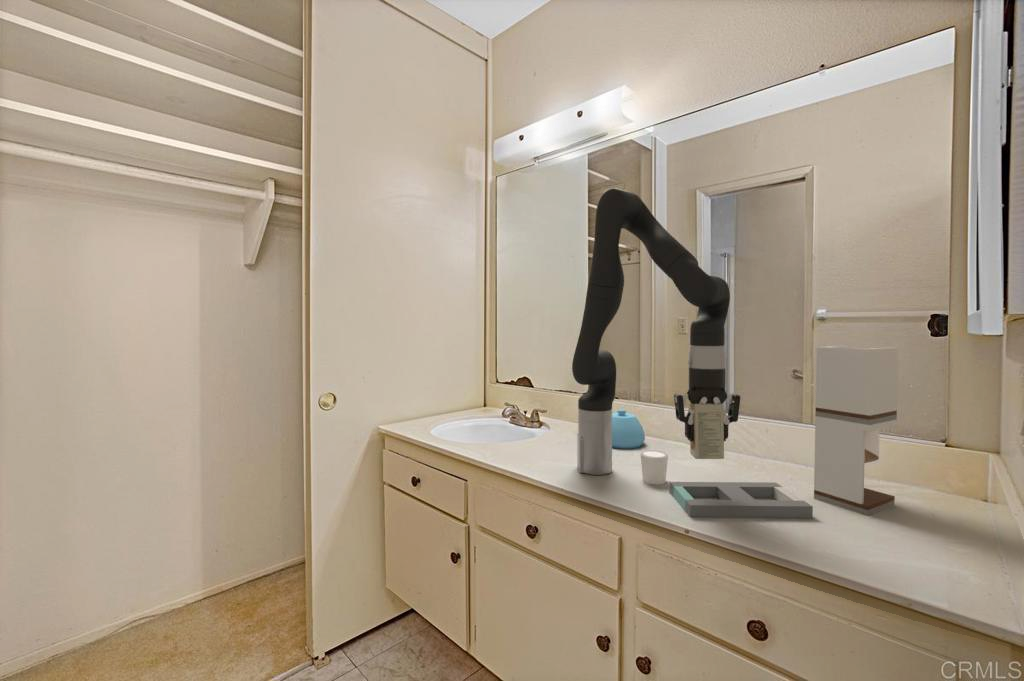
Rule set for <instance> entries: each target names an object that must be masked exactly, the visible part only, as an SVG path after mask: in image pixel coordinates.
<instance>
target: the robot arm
mask: <svg viewBox="0 0 1024 681" xmlns="http://www.w3.org/2000/svg"><path fill="white" fill-rule="evenodd" d="M622 229H624V230H626V231H627V232H629V233H631V234H632V235H633V236H635V237H637V239H638V240H640V241H641V243H642V244H643V245H644V247H645V249H646V250H647V253H648V255H649V257H650V258H651V259H652V261H653V262H654V264H656V266H657V267H658V268H659V269H660V270H661V271H662V272H663V273H664V274H665V275H666V276H667V277H668V278H670V279H671V280H672V282H673V284H674V286H675V287H676V288H677V290H678V291H679V293H680V294H681V296H682V297H683V298H684V299H685V300H686V301H687V302H688V303H690V305H693V306H694V307H697V308H698V310H697V314H696V315H697V317H696V318H695V319H694V320H692V321H691V324H690V329H689V333H690V335H689V352H688V363H687V364H688V389H687V390H688V391H687V392H686V393H680V394H679V393H674V395H673V398H674V399H673V400H674V409H675V411H674V412H675V419H677V420H678V421H679V422H682V423H684V436H685V438H686V439H687V440H688V441H689V442H690V441H694V425H693V422H694V410H691V407H690V406H689V407H688V410H687V413H686V412H685V404H686V402H687V399H688V401H689V403H690V402H691V403H692V404H703V405H705V404H708V403H714V404H723V405H724V402H726V401H727V403H728V412H726V410H725V409H724V407H723V419H724V442H726V441H727V439H728V438H729V425H730V424H731V423H736V422H738V420H739V413H740V407H741V395H739V394H736V393H727V391H726V378H727V377H726V376H727V374H726V372H727V371H726V370H727V369H726V368H727V366H726V365H727V364H726V362H727V360H726V358H727V357H726V356H727V355H726V349H725V346H726V345H725V343H726V342H725V341H726V340H725V336H726V335H725V334H726V333H725V324H726V321H727V318H728V317H727V316H728V311H729V307H730V299H731V292H730V287H729V285H728V282H726V281H725V279H723V278H722V277H718V276H714V275H709V274H708V273H706V272H705V271H704V269H702V268H701V267H700V265H699V261H698V259H697V258H696V257H695V256H694V255H693V254H692V252H690V251H689V250H688V249H687V248H686V247H685V246H684V245H682V244H681V242H679V241H678V240H677V239H676V238H675V237H674V236H673V235H671V233H669V232H668V231H667V229H665V227H664V226H663V225H661V223H660V222H659V221H658V220H657V218H656V217H655V216H654V215H653V214H652V212H651V210H650V209H649V207H647V205H646V204H645V202H644V201H643V200H642V199H641V197H640V196H639V195H638V194H636V193H635V192H631V191H628V190H625V189H621V188H617V187H610V188H608V189H606V190H604V191H603V193H602V194H601V195H600V197H599V199H598V202H597V205H596V211H595V224H594V240H593V241H594V243H593V251H592V257H591V266H590V271H589V278H588V284H587V289H586V295H585V296H586V297H585V304H584V310H583V315H582V321H581V326H580V331H579V336H578V338H577V343H576V346H575V351H574V354H573V357H572V362H571V363H572V364H571V365H572V366H571V371H572V376H573V378H574V380H575V382H576V383H578V384H579V385H583V386H586V385H587V386H589V387H588V388H587V390H586V392H585V393H584V394H582V395H581V396H580V397H579V398H578V399H577V400H578V402H577V404H578V405H577V407H578V409H577V411H578V415H577V416H578V418H577V420H578V423H577V426H578V428H577V430H578V431H577V432H578V433H577V437H576V442H577V445H576V446H577V449H576V450H577V451H576V452H577V454H576V456H577V457H576V458H577V462H576V464H577V469H578V472H579V473H580V474H586V475H592V476H593V475H595V476H600V475H601V476H603V475H608V474H610V473H612V472H613V447H612V413H613V403H614V400H615V396H616V388H617V387H616V386H617V385H616V384H617V364H616V359H615V358H614V355H613V354H612V353H611V352H610V351H607V350H605V349H600V347H601V341H602V338H603V335H604V333H605V332H606V330H607V328H608V327H609V325H610V323H611V322H612V321H613V320H614V318H615V316H616V314H617V313H618V311H619V310H620V307H621V304H622V297H623V293H624V286H625V275H624V274H625V273H624V269H623V264H622V261H621V255H620V249H619V246H620V237H621V231H622Z"/></svg>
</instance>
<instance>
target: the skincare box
mask: <svg viewBox="0 0 1024 681" xmlns="http://www.w3.org/2000/svg"><path fill="white" fill-rule="evenodd" d="M689 407H691V410H694V422H693V425H694V441H689V450H690V451H689V453H690V455H691V456H692V457H693V458H694V459H696V460H724V458H725V441H724V419H723V408H724V403H723V404H714V403H708V404H705V405H703V404H692V403H691V402H690V401H689Z"/></svg>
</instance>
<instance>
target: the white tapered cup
mask: <svg viewBox="0 0 1024 681" xmlns="http://www.w3.org/2000/svg"><path fill="white" fill-rule="evenodd" d="M640 461H641V474H642V481H643V482H644V483H647V484H650V485H663V484H664V485H665V483H666V480H667V472H668V471H667V470H668V461H669V455H668V453H666V452H663V451H661V450H659V451H658V450H643V451H641V452H640Z"/></svg>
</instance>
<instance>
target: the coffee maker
mask: <svg viewBox="0 0 1024 681" xmlns="http://www.w3.org/2000/svg"><path fill="white" fill-rule="evenodd" d="M815 361H816V364H815V365H816V366H815V367H816V369H815V370H816V373H815V374H816V375H815V422H814V423H815V424H814V426H815V427H814V467H813V468H814V472H813V473H814V474H813V477H814V480H813V499H814V500H818V501H820V502H824V503H826V504H829V505H833V506H837V507H839V508H842V509H845V510H848V511H851V512H855V513H857V514H861V515H863V516H867V517H868V516H870V515H873V514H876V513H878V512H880V511H884V510H886V509H889V508H891V507H893V506H895V503H896V502H895V499H896V497H895V496H894V495H891V494H889V493H885V492H881V491H878V490H873V489H870V488H867V487H865V464H868V463H872V462H875V461H879V459H880V458H879V457H880V430H883V429H888V428H892V427H897V418H898V416H897V414H898V382H899V380H898V378H899V377H898V375H899V347H894V346H892V347H874V348H868V347H867V348H866V347H865V348H864V347H862V348H860V347H859V348H858V347H852V348H851V347H849V345H829V346H817V347H816V360H815Z"/></svg>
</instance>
